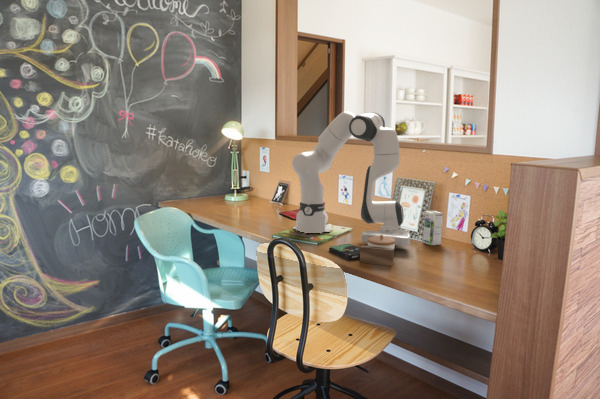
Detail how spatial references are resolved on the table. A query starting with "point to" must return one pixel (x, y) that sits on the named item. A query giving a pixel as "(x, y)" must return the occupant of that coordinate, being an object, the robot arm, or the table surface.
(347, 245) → the disk drive
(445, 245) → the table surface
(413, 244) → the table surface
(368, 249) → the walnut board
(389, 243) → the lidded jar
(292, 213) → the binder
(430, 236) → the syrup box
